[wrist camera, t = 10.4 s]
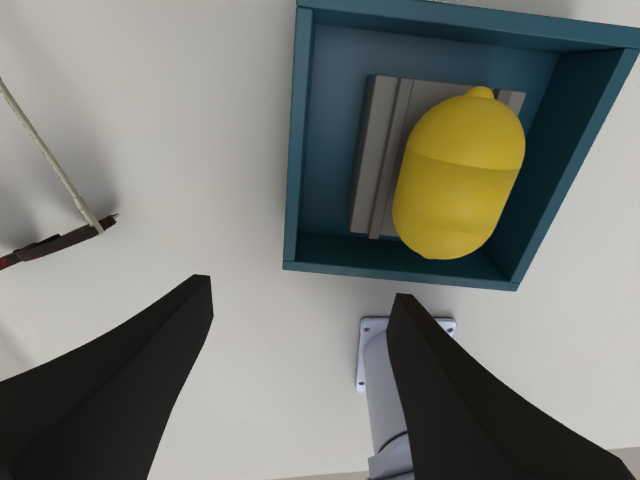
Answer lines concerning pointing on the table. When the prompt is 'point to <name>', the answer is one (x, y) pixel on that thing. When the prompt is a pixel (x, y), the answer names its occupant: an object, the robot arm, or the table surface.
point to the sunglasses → (94, 225)
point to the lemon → (457, 174)
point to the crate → (452, 67)
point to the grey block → (394, 143)
